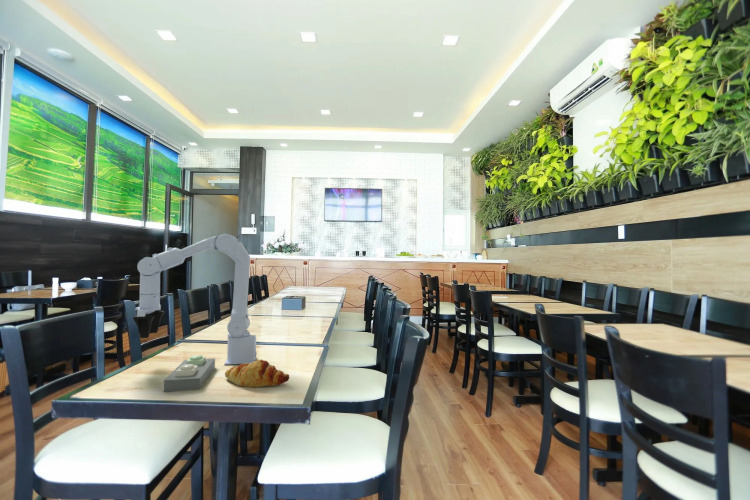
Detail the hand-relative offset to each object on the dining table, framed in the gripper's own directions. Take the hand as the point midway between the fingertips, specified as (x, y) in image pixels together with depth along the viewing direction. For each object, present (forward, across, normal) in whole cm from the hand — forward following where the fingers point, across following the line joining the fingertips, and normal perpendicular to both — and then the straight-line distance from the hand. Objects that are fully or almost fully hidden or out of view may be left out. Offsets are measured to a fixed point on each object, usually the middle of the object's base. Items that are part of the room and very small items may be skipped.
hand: (149, 335), depth 120 cm
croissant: (+11, +23, +36) cm, 44 cm away
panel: (+10, +16, +17) cm, 25 cm away
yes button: (+9, +11, +17) cm, 22 cm away
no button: (+9, +21, +17) cm, 28 cm away
